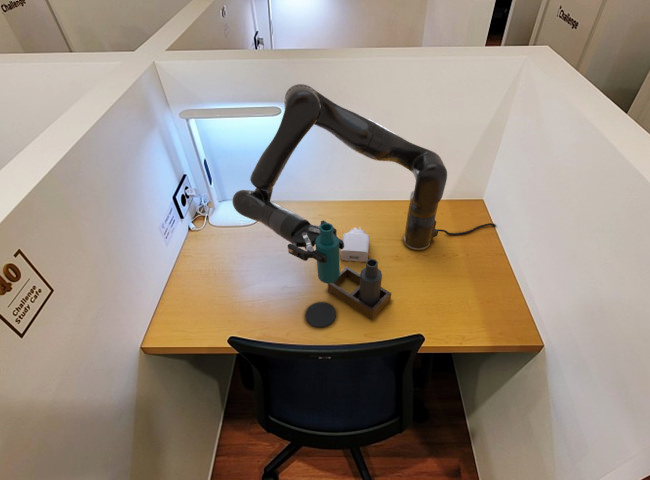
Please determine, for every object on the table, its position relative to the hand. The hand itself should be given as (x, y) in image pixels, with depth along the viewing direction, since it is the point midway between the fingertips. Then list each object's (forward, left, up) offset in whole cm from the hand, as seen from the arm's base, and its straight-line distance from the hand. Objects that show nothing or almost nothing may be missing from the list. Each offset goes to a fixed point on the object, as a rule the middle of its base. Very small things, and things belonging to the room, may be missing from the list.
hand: (334, 253), depth 93 cm
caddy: (-9, -1, -24) cm, 25 cm away
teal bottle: (+1, -2, -10) cm, 10 cm away
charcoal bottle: (-10, +3, -24) cm, 26 cm away
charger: (-20, -21, -24) cm, 37 cm away
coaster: (+5, -1, -24) cm, 24 cm away
